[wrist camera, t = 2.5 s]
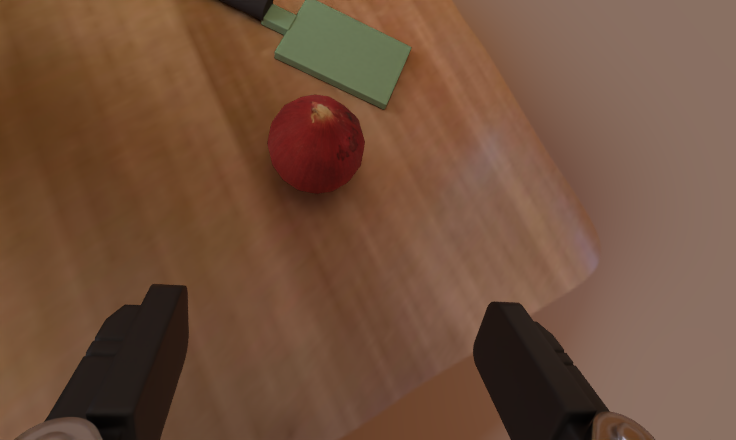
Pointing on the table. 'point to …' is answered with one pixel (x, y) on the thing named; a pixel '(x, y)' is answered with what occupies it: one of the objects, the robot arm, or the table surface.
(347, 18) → the spatula
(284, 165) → the onion
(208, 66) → the table surface
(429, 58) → the table surface
